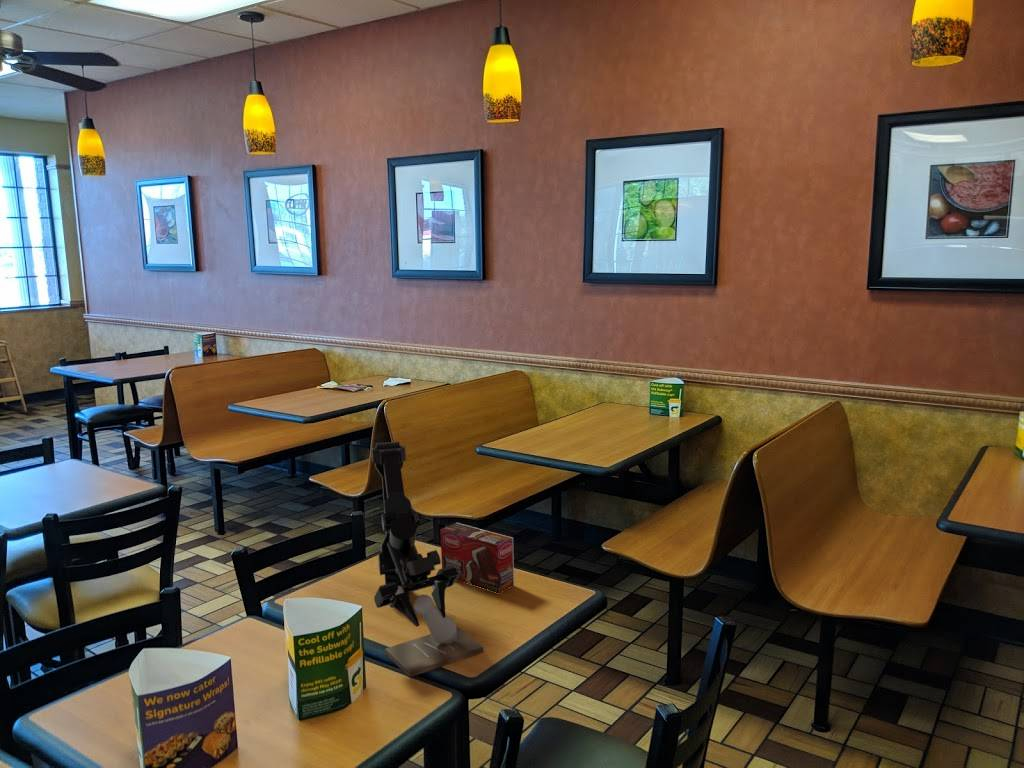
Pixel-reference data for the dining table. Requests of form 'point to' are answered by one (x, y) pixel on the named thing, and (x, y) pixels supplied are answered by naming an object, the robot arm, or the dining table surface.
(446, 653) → the marked board
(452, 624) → the salt shaker
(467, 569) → the ice cream box
